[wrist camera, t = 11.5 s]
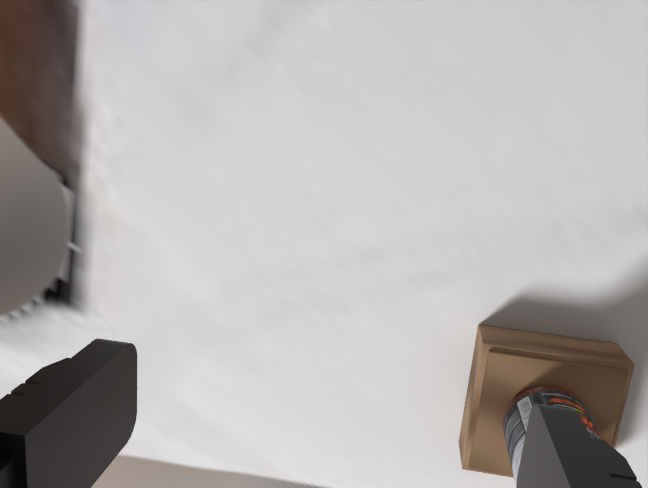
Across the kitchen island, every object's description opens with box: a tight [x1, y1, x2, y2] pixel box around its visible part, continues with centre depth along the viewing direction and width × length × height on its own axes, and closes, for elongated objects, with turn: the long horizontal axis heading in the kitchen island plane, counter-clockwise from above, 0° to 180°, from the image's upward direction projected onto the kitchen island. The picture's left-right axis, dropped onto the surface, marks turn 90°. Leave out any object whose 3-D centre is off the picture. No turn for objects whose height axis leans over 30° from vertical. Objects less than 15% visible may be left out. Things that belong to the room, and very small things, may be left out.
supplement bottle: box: [503, 386, 604, 487], centre depth 37 cm, size 6×6×11 cm
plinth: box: [459, 325, 634, 477], centre depth 44 cm, size 10×10×4 cm
